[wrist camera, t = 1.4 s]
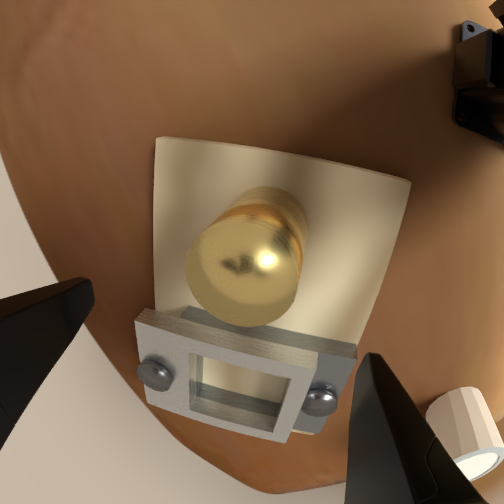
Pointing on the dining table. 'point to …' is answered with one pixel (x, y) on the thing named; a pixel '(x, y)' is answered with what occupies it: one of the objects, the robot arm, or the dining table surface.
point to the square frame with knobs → (247, 356)
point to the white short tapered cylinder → (467, 431)
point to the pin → (250, 258)
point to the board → (317, 247)
